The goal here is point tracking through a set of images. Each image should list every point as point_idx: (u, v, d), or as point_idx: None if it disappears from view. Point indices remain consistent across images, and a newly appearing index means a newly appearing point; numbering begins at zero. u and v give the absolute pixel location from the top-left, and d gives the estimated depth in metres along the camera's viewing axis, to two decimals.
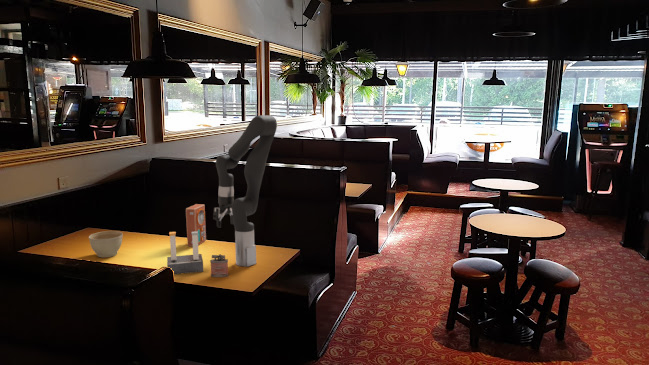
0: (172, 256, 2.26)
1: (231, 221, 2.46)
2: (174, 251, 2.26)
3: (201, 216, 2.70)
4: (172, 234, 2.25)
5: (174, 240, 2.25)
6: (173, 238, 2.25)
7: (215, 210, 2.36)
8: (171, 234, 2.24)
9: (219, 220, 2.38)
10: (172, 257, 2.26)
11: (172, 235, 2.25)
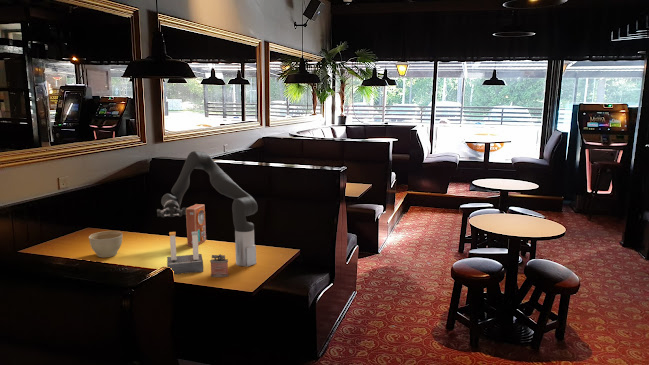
0: (172, 256, 2.26)
1: (179, 214, 2.38)
2: (174, 251, 2.26)
3: (201, 216, 2.70)
4: (172, 234, 2.25)
5: (174, 240, 2.25)
6: (173, 238, 2.25)
7: None
8: (171, 234, 2.24)
9: (161, 211, 2.38)
10: (172, 257, 2.26)
11: (172, 235, 2.25)
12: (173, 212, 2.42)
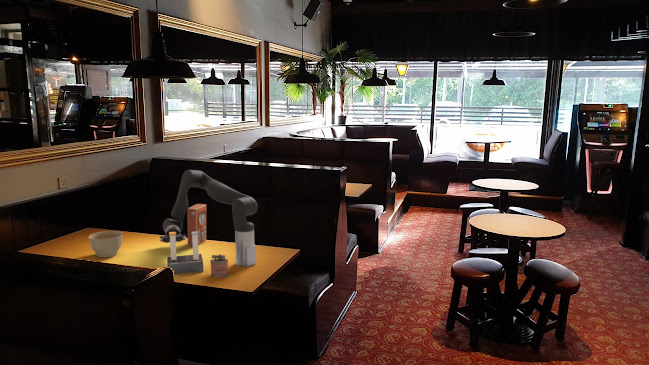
0: (172, 256, 2.26)
1: None
2: (174, 251, 2.26)
3: (202, 216, 2.70)
4: (172, 234, 2.25)
5: (174, 240, 2.25)
6: (173, 238, 2.25)
7: (161, 238, 2.42)
8: (171, 234, 2.24)
9: None
10: (172, 257, 2.26)
11: (172, 235, 2.25)
12: None
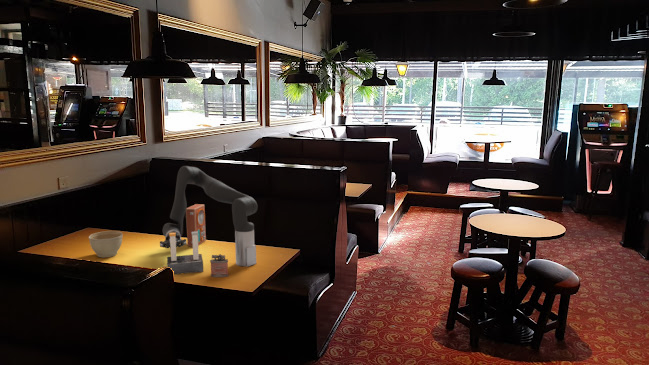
0: (172, 256, 2.25)
1: None
2: (174, 252, 2.25)
3: (201, 216, 2.70)
4: (172, 235, 2.23)
5: (174, 241, 2.24)
6: (173, 239, 2.24)
7: (161, 244, 2.33)
8: (171, 235, 2.23)
9: None
10: (172, 258, 2.25)
11: (172, 236, 2.23)
12: None
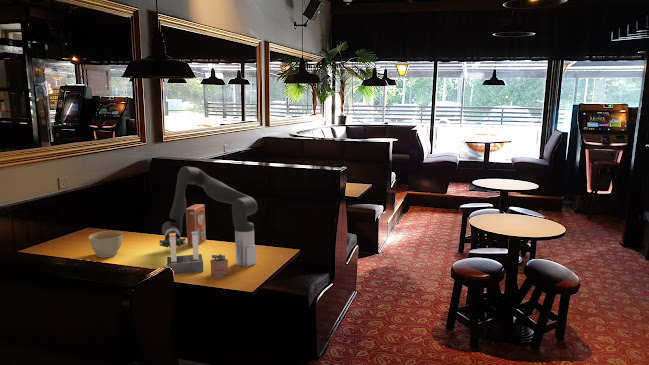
0: (172, 257, 2.24)
1: None
2: (174, 253, 2.24)
3: (201, 216, 2.70)
4: (172, 235, 2.22)
5: (174, 241, 2.23)
6: (173, 239, 2.23)
7: (160, 243, 2.34)
8: (171, 235, 2.22)
9: (169, 242, 2.32)
10: (172, 259, 2.24)
11: (172, 236, 2.22)
12: None
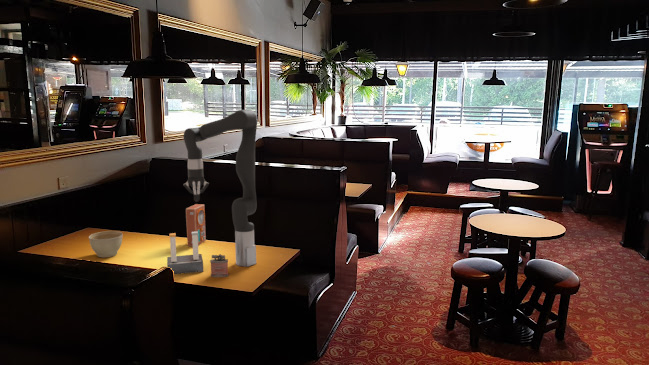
0: (172, 257, 2.24)
1: None
2: (174, 253, 2.24)
3: (201, 216, 2.70)
4: (172, 235, 2.22)
5: (174, 241, 2.23)
6: (173, 239, 2.23)
7: (184, 186, 2.42)
8: (171, 235, 2.22)
9: (194, 194, 2.43)
10: (172, 259, 2.24)
11: (172, 236, 2.22)
12: None
